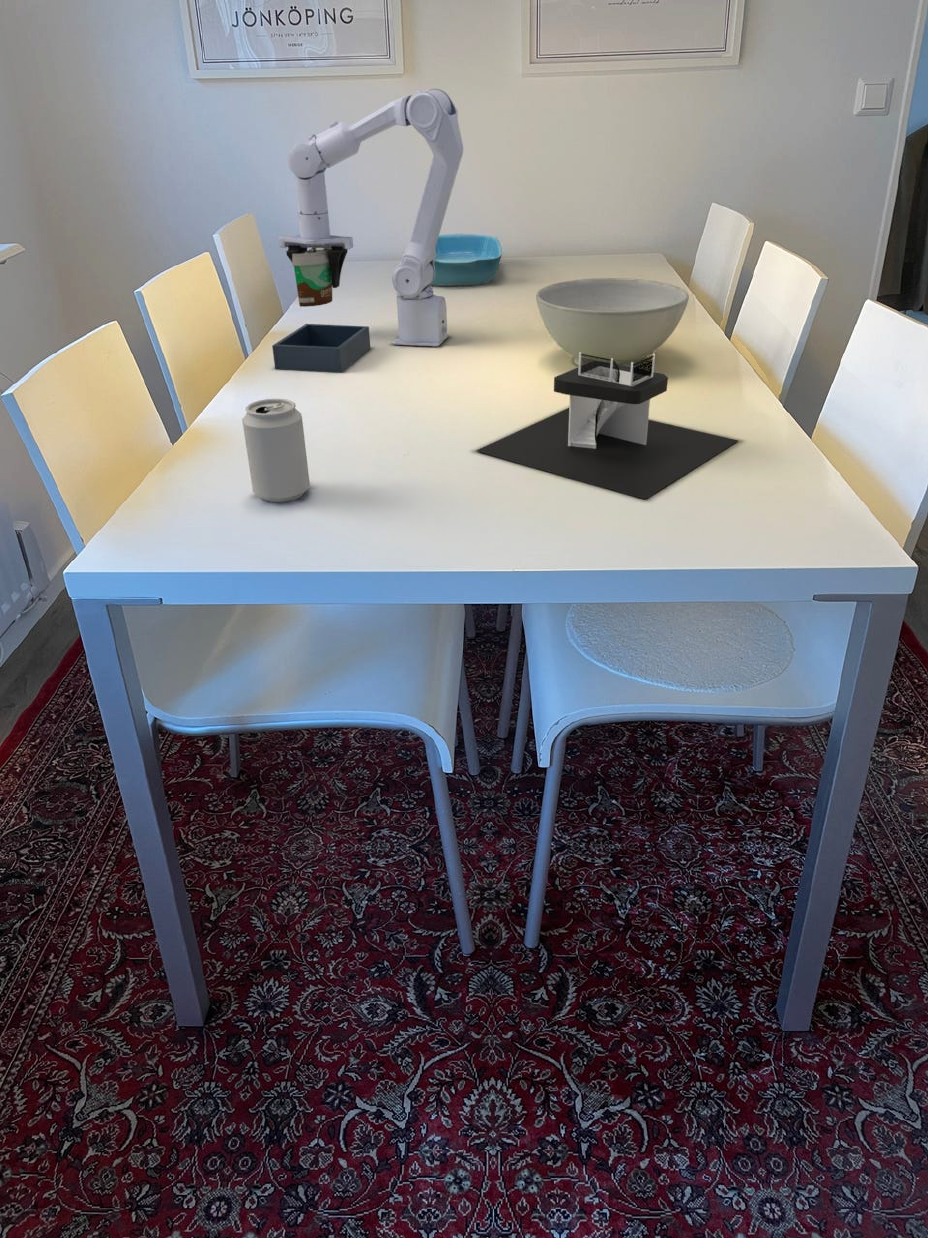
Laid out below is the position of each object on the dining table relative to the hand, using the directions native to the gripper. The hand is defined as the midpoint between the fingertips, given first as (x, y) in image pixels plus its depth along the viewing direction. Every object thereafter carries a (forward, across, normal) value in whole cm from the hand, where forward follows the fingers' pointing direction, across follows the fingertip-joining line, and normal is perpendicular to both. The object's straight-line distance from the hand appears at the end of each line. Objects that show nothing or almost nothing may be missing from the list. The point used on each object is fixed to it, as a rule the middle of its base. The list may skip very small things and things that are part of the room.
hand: (320, 286), depth 186 cm
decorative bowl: (+10, +58, -8) cm, 60 cm away
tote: (+10, +5, -15) cm, 19 cm away
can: (+10, +23, -76) cm, 80 cm away
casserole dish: (+10, +12, +64) cm, 66 cm away
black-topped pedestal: (+10, +63, -51) cm, 82 cm away
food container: (+3, 0, 0) cm, 3 cm away
